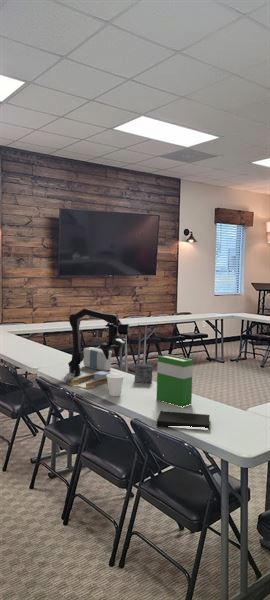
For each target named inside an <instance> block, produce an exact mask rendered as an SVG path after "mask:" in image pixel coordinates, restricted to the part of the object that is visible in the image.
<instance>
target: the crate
mask: <svg viewBox="0 0 270 600" xmlns="http://www.w3.org/2000/svg"><path fill="white" fill-rule="evenodd" d="M107 374H111V373H110V372H109V371H102V370H98V371H96V372H94V379H93V381H95V380H98V379H101V378H104V377H107V376H106V375H107Z"/></svg>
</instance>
